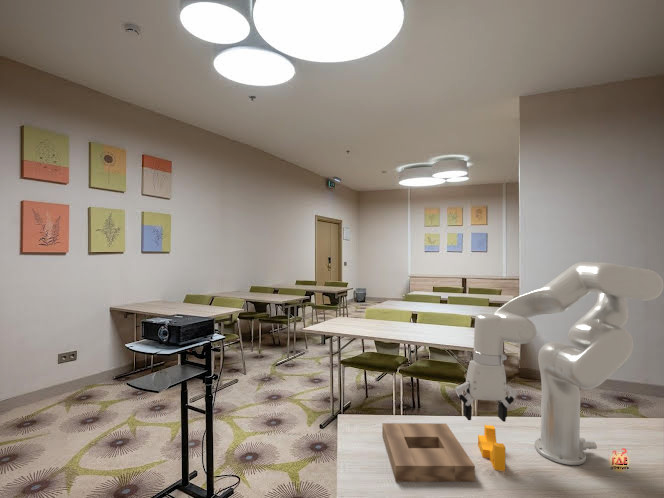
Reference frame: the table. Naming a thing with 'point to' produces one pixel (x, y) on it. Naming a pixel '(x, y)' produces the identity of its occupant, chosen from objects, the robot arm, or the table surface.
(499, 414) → the robot arm
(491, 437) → the orange curved block
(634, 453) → the table surface
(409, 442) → the cutout shelf
